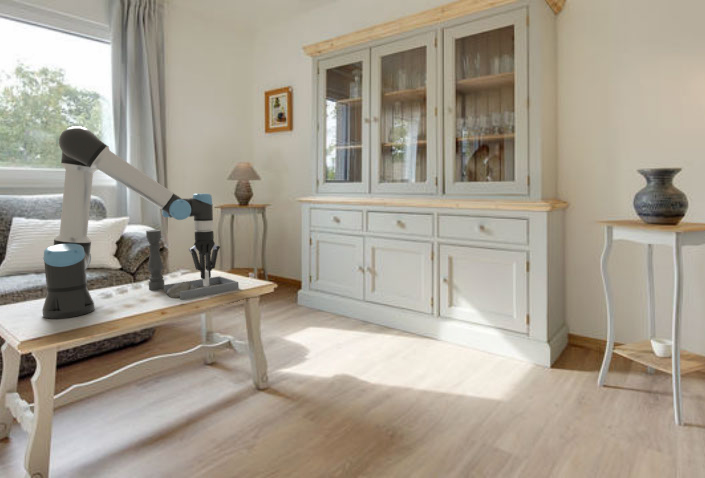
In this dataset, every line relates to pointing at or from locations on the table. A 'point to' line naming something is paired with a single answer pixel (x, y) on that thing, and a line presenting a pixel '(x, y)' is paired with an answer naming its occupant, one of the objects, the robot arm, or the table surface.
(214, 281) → the tray
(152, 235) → the candle holder
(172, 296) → the fossilized seashell
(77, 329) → the table surface
